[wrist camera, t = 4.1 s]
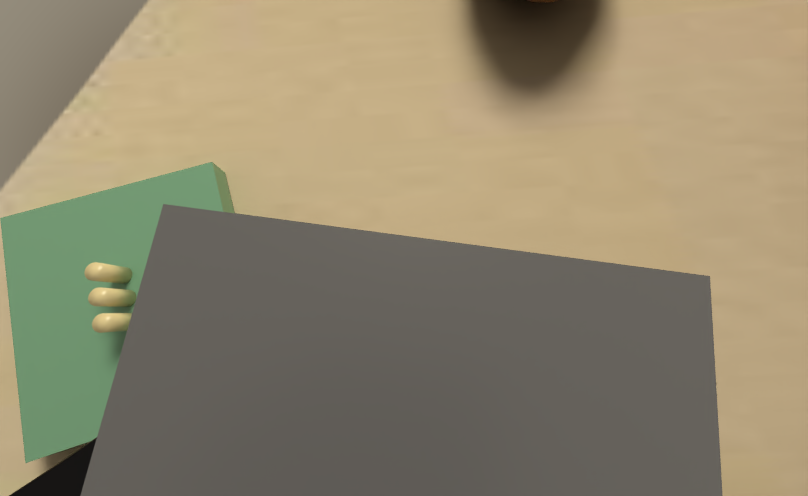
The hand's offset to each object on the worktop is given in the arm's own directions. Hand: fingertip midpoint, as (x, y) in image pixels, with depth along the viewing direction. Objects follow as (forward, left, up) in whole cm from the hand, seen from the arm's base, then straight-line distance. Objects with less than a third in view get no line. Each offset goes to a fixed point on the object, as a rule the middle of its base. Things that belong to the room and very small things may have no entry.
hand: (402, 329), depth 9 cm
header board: (-9, +7, -7) cm, 13 cm away
